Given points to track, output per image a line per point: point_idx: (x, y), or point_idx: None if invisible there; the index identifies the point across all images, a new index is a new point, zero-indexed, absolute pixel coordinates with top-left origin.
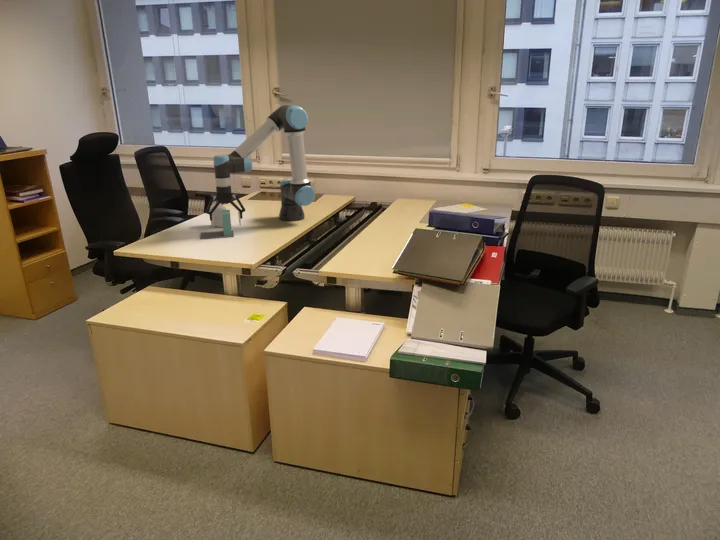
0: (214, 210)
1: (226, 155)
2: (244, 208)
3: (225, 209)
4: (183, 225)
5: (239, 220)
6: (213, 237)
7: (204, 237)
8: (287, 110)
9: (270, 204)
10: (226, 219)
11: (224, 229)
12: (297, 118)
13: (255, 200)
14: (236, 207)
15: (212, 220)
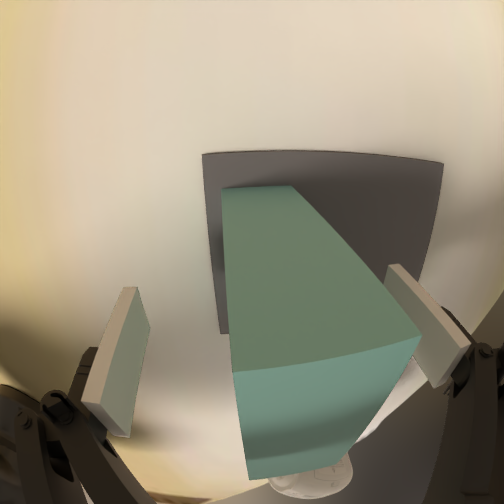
0: (335, 465)
1: None
2: (24, 447)
3: (275, 479)
4: (412, 390)
5: (119, 324)
6: (373, 167)
7: (421, 187)
8: None
9: (152, 486)
10: (300, 268)
11: (300, 203)
12: None
13: (194, 497)
14: (111, 498)
15: (434, 301)
